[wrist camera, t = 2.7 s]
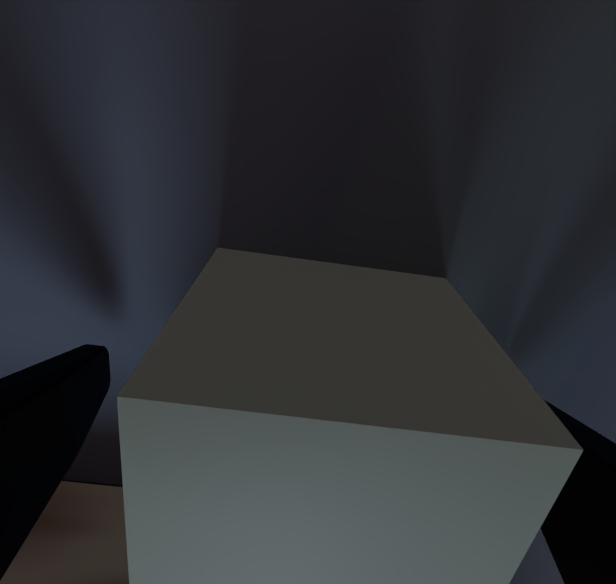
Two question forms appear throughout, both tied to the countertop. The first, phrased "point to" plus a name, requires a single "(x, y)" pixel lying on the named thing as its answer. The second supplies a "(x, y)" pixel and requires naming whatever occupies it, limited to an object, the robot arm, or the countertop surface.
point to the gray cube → (332, 434)
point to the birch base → (75, 539)
